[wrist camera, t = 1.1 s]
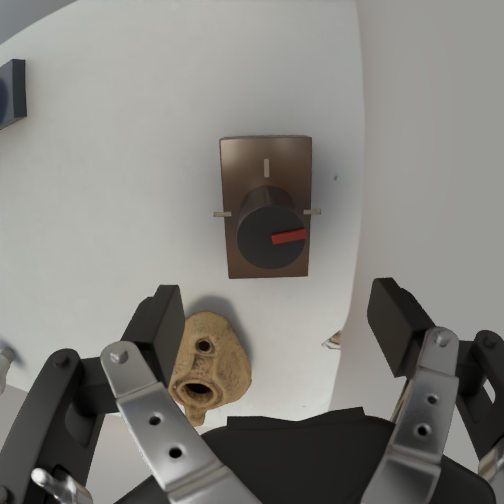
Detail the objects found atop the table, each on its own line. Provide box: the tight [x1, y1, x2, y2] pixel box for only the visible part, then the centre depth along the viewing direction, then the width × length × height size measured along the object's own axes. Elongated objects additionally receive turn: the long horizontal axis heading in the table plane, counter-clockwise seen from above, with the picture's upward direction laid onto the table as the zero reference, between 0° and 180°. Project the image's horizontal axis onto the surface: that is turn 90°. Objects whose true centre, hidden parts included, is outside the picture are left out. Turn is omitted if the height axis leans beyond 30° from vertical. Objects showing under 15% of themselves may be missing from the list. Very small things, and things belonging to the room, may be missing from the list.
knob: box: [236, 186, 307, 270], centre depth 21 cm, size 4×4×6 cm
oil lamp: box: [167, 311, 252, 427], centre depth 30 cm, size 11×15×8 cm
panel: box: [214, 135, 321, 279], centre depth 25 cm, size 12×9×3 cm
